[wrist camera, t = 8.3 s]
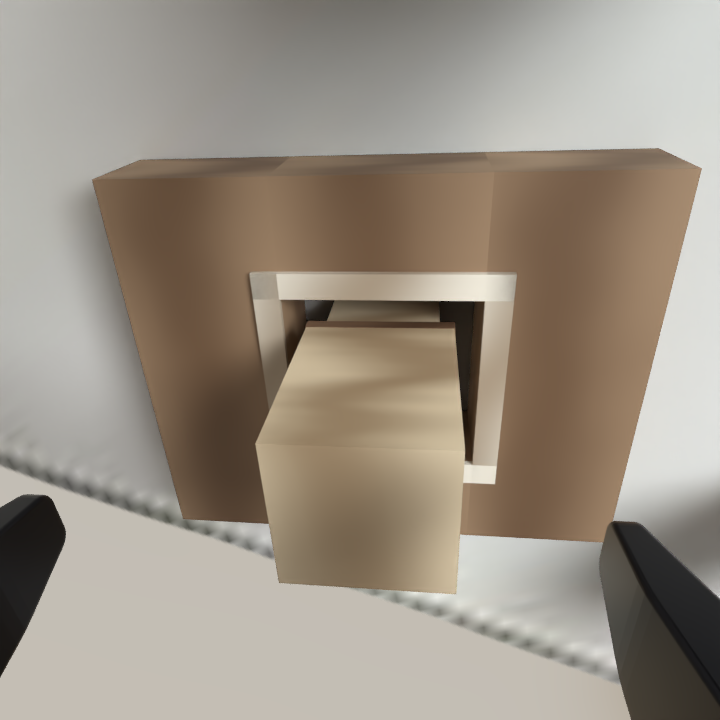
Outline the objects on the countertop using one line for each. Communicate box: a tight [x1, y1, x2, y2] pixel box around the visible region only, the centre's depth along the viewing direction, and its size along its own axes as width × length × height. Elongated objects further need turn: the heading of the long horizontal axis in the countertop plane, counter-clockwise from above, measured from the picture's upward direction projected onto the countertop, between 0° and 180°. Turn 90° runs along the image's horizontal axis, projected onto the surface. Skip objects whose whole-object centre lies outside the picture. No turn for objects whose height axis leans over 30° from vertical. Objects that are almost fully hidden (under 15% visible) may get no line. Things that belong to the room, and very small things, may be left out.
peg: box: [255, 300, 465, 594], centre depth 17 cm, size 4×4×9 cm
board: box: [92, 148, 702, 542], centre depth 19 cm, size 16×13×3 cm
